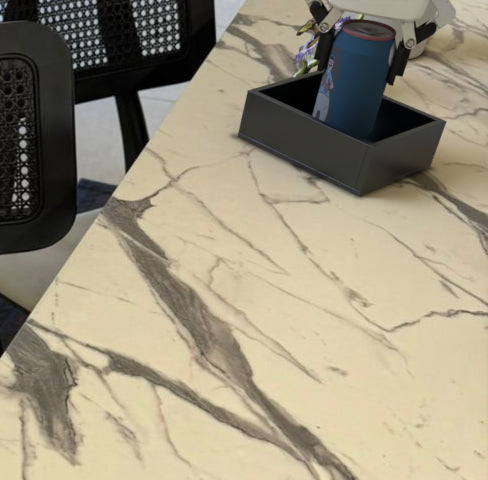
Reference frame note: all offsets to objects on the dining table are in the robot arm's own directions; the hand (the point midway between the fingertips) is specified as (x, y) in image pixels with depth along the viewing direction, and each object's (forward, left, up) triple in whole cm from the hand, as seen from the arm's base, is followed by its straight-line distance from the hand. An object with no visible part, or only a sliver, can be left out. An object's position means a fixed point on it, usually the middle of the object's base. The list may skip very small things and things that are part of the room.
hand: (356, 73), depth 113 cm
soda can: (0, 0, -7) cm, 7 cm away
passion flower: (+13, -16, -10) cm, 23 cm away
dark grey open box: (0, 0, -9) cm, 9 cm away
